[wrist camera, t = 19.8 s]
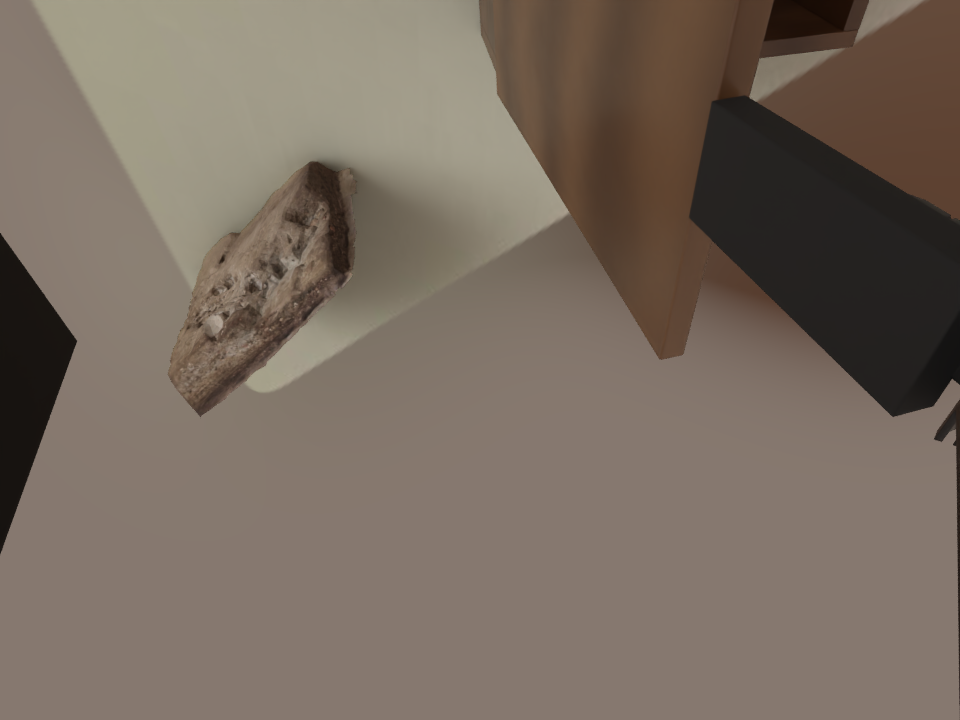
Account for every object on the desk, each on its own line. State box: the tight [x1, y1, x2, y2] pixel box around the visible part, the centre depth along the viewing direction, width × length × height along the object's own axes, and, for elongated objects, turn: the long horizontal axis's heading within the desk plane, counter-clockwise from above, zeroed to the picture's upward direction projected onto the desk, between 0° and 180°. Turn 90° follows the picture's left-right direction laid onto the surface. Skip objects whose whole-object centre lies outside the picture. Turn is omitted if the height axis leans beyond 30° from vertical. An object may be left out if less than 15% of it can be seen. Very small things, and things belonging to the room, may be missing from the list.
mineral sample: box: [168, 162, 357, 417], centre depth 41 cm, size 17×4×15 cm, turn 130°
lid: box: [493, 0, 774, 360], centre depth 20 cm, size 21×13×1 cm
